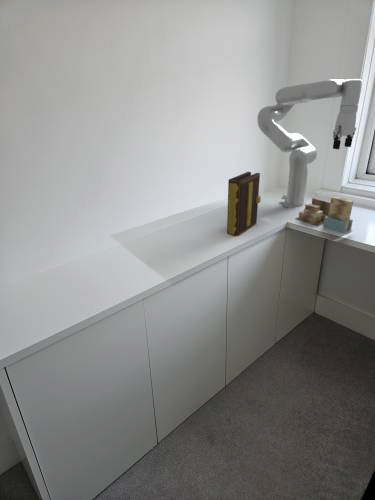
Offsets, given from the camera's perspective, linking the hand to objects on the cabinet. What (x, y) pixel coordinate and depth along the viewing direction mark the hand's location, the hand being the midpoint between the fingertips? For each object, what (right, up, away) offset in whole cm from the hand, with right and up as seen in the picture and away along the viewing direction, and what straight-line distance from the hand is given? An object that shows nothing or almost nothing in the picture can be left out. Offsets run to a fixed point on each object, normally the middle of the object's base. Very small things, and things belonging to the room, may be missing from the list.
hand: (341, 147), depth 157 cm
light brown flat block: (-6, -39, -7) cm, 41 cm away
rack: (-12, -35, +4) cm, 37 cm away
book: (-48, -39, 0) cm, 62 cm away
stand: (-6, -40, -7) cm, 41 cm away
